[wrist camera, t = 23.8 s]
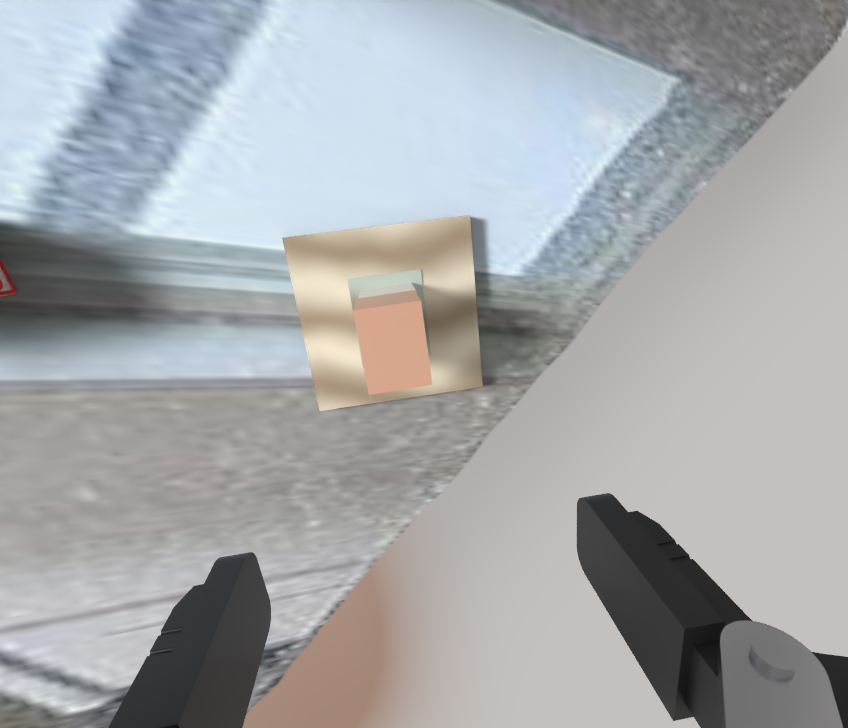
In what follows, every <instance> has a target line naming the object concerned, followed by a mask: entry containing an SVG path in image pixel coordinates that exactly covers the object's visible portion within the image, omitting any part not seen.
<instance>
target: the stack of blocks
mask: <svg viewBox="0 0 848 728" xmlns="http://www.w3.org/2000/svg"><path fill="white" fill-rule="evenodd" d="M12 294H16V290H15V288H14V286H13V284H12V282H11V280H10V278H9V276H8V274H7V272H6V271H5V269H4V267H3V265H2V263H1V261H0V297H1V296H6V295H12Z"/></svg>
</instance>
